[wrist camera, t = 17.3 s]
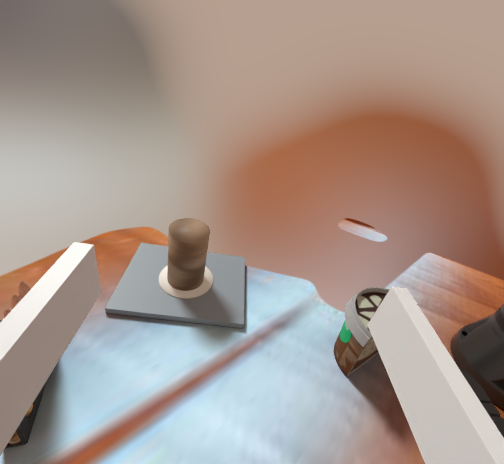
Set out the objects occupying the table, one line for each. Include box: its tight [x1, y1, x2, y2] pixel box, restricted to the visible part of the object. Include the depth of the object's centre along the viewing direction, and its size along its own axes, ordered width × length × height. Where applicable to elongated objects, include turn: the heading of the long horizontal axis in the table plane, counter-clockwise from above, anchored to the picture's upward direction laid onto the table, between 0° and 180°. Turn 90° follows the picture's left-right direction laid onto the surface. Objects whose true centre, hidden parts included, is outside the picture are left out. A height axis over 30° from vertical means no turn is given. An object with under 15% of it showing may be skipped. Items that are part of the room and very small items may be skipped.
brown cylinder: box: [167, 218, 210, 291], centre depth 44 cm, size 6×6×10 cm
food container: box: [334, 288, 418, 377], centre depth 41 cm, size 12×6×10 cm, turn 124°
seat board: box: [105, 243, 245, 328], centre depth 47 cm, size 20×16×1 cm
